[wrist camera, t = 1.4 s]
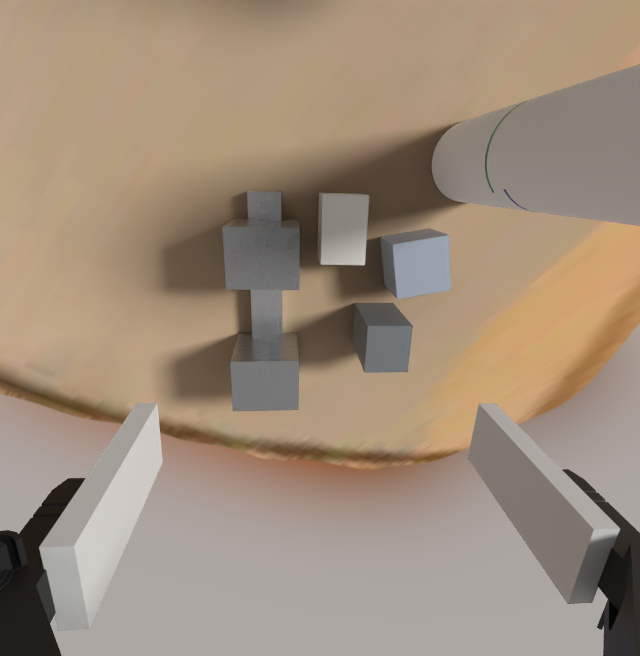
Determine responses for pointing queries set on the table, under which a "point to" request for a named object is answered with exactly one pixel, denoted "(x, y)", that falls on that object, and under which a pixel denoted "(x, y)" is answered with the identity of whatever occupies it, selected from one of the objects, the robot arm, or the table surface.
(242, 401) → the grey stepped block assembly
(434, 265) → the loose block slate
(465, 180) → the cylindrical container
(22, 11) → the table surface
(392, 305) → the block
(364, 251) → the loose block white
